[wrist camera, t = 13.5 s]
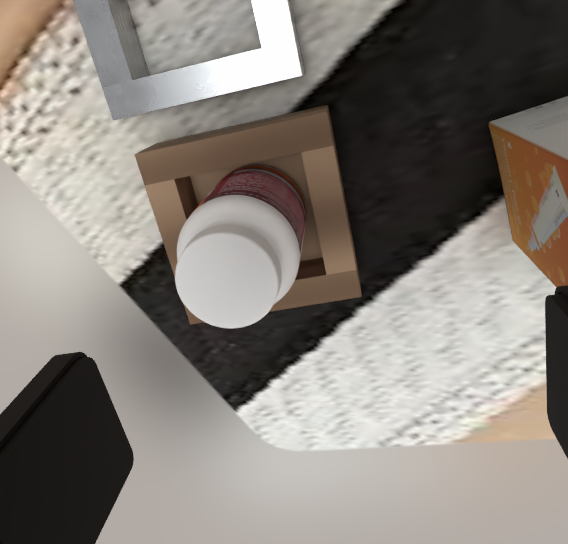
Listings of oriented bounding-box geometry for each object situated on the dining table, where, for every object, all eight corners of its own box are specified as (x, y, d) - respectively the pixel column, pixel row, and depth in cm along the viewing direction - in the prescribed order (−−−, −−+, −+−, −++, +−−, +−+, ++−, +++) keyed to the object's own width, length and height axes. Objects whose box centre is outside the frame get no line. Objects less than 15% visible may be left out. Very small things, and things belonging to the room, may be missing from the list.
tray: (156, 143, 33) (134, 154, 29) (327, 104, 31) (327, 111, 27) (204, 297, 37) (190, 324, 33) (358, 271, 35) (361, 296, 31)
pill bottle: (208, 160, 32) (151, 210, 22) (308, 163, 31) (297, 216, 21) (212, 255, 34) (163, 339, 24) (305, 259, 34) (294, 346, 24)
